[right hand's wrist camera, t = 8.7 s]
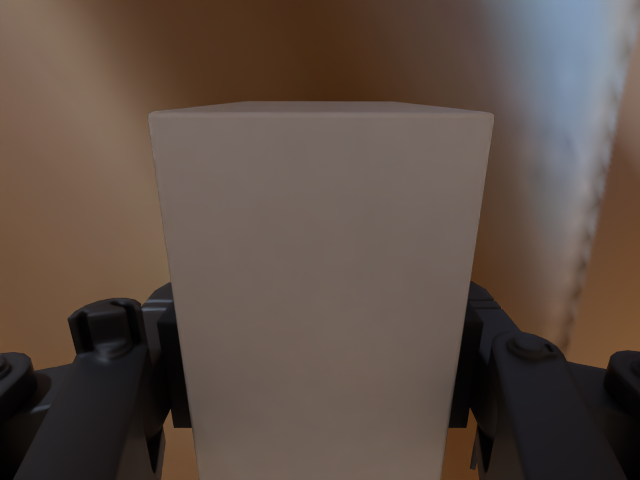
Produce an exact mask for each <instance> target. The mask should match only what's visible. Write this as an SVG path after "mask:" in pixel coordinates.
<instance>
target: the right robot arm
mask: <svg viewBox="0 0 640 480" xmlns="http://www.w3.org/2000/svg"><path fill="white" fill-rule="evenodd" d="M68 323H69V327H70V330H71V334H72V338H73V342H74V346H75V350H76V354H77V355H76V357H75V359H74V361H73V363H71V364H67V365H63V366H58V367H52V368H47V369H42V370H37V371H34V369H33V365H32V362H31V359H30V357H28V356H27V355H26V354H24V353H16V352H10V353H0V480H161V474H162V466H163V458H164V450H165V435H164V430H163V424H164V422H165V419H166V417H167V415H168V413H169V411H170V409H171V413H172V419H173V425H174V428H192V425H191V418H190V411H189V404H188V397H187V390H186V383H185V376H184V369H183V362H182V355H181V348H180V341H179V334H178V327H177V320H176V313H175V306H174V299H173V292H172V284H171V282H169V283H167V284H166V285H164V286H162V287H160V288H159V289H157V290H155V291H154V292H153V294H152V295H151V296H150V297H149V298H148V300H147V303H144V304H143V306H141V303H139V302H138V301H136V300H134V299H129V298H111V299H106V300H101V301H97V302H94V303H91V304H88V305H86V306H84V307H82V308H80V309H78V310H77V311H75V312H74V313H73V314H72V315H71V316H70V317H69V318H68ZM470 408H471V410H472V413H473V415H474V417H475V419H476V421H477V423H478V424H477V430H476V435H475V441H474V446H473V452H472V458H471V464H470V469H474V470H475V468H476V463H477V465H478V473H479V480H640V352H638V351H629V350H627V351H619V352H616V353H614V354H613V355H612V356H611V357H610V360H609V363H608V367H607V369H603V368H597V367H592V366H587V365H582V364H576V363H572V362H568V361H567V360H566V359H565V357H564V355H563V353H562V352H561V351H560V350H559V349H558V347H557V346H555V345H554V344H552V343H551V342H549V341H548V340H546V339H544V338H541V337H539V336H536V335H534V334H529V333H525V332H521V331H520V330H519V328H518V327H517V326H516V325H515V324H514V322H513V321H512V320H511V319H510V318H509V316H508V315H507V314H506V313H505V312H504V311H503V309H501V307H500V306H499V305H498V303H497V302H496V301H494V299H493V298H492V296H491V295H490V294H489V293H488V292H487V290H486V289H484V288H482V287H481V286H479V285H477V284H475V283H474V282H472V281H470V286H469V292H468V299H467V306H466V312H465V319H464V326H463V332H462V339H461V346H460V352H459V359H458V366H457V373H456V379H455V386H454V393H453V399H452V406H451V413H450V419H449V426H448V428H466V427H467V421H468V415H469V409H470Z"/></svg>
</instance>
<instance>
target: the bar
mask: <svg viewBox="0 0 640 480" xmlns="http://www.w3.org/2000/svg"><path fill="white" fill-rule="evenodd" d="M148 123H149V130H150V137H151V144H152V151H153V158H154V165H155V172H156V179H157V186H158V193H159V200H160V207H161V214H162V221H163V228H164V235H165V242H166V249H167V256H168V263H169V270H170V277H171V284H172V292H173V299H174V306H175V313H176V320H177V327H178V334H179V341H180V348H181V355H182V362H183V369H184V376H185V383H186V390H187V397H188V404H189V411H190V418H191V425H192V432H193V439H194V446H195V453H196V460H197V467H198V474H199V480H441V473H442V466H443V459H444V453H445V446H446V439H447V433H448V426H449V419H450V413H451V406H452V399H453V393H454V386H455V379H456V373H457V366H458V359H459V352H460V346H461V339H462V332H463V326H464V319H465V312H466V306H467V299H468V292H469V286H470V279H471V272H472V266H473V259H474V252H475V245H476V239H477V232H478V225H479V219H480V212H481V205H482V199H483V192H484V185H485V179H486V172H487V165H488V158H489V152H490V145H491V138H492V132H493V125H494V115H493V114H492V113H490V112H483V111H474V110H465V109H456V108H447V107H438V106H429V105H420V104H411V103H402V102H393V101H244V102H235V103H226V104H216V105H207V106H198V107H188V108H179V109H170V110H160V111H153V112H151V113H149V114H148Z"/></svg>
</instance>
